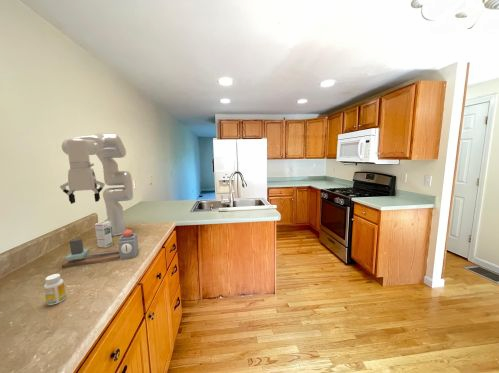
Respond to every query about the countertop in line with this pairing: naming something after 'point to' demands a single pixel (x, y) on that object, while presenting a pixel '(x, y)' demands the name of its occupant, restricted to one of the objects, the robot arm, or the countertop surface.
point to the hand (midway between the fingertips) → (85, 202)
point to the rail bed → (93, 258)
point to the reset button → (127, 233)
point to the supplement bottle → (54, 289)
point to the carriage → (77, 250)
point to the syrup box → (104, 234)
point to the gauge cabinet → (128, 246)
